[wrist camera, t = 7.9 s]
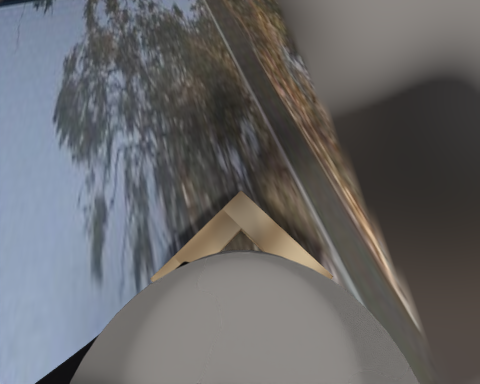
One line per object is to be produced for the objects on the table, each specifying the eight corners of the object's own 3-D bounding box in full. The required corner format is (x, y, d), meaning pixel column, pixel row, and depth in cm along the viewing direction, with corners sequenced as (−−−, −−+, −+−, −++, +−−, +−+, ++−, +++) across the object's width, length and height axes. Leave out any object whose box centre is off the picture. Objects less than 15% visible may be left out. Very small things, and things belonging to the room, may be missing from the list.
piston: (283, 309, 14) (577, 688, 2) (217, 336, 14) (24, 1116, 1) (258, 241, 16) (333, 207, 3) (198, 263, 15) (22, 320, 3)
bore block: (322, 273, 21) (333, 276, 19) (243, 375, 19) (243, 393, 16) (240, 196, 24) (241, 190, 22) (160, 275, 21) (150, 278, 19)
